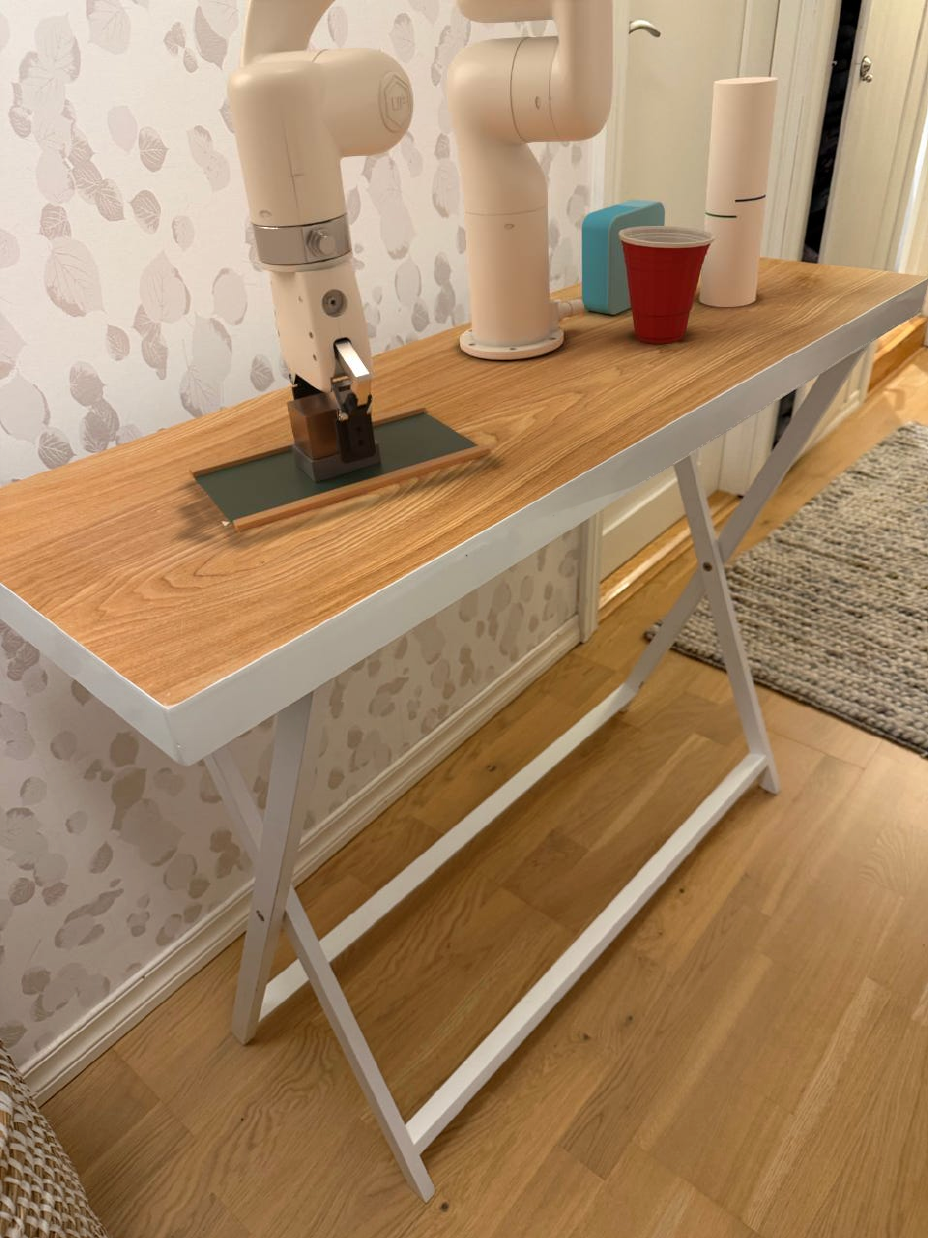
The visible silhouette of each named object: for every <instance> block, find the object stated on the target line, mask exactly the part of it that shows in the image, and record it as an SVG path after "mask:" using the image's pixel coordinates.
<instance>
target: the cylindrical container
mask: <svg viewBox="0 0 928 1238" xmlns="http://www.w3.org/2000/svg"><path fill="white" fill-rule="evenodd" d="M778 82H779V77H774V76H748V77H733V78H725V79H719V80H716V81H714V82H713V93H712V107H711V122H710V138H709V150H708V151H709V153H708V154H709V155H708V164H707V165H708V166H707V179H706V192H705V193H706V195H705V209H704V210H705V211H704V223H703V225H704V226H703V231H708V232H710V233H712V234H714V235H715V239H714V241H713V242H712V243H711V245H710V246H709V248H708V250H707V254H706V255H705V258H704V262H703V264H702V267H701V271H700V281H699V282H700V283H699V296H698V297H699V298H698V301H699V302H700V303H701V304H703V305H706V306H710V307H716V308H735V307H736V308H737V307H743V306H747V305H751V304H752V303H754V302H755V301H756V297H757V288H758V278H759V268H760V258H761V250H762V239H763V230H764V219H765V211H766V200H767V189H768V179H769V171H770V170H769V169H770V160H771V152H772V151H771V150H772V140H773V131H774V121H775V111H776V101H777V91H778Z"/></svg>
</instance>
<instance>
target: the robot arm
mask: <svg viewBox="0 0 928 1238" xmlns="http://www.w3.org/2000/svg"><path fill="white" fill-rule="evenodd" d="M613 1H614V0H454V2H455V5H456V8H457V10H458V11H459V13H460V14H461V15H462V16H463V17H464V18H465V19H467V20H469V21H471V22H474V23H477V24H478V23H479V24H503V23H504V24H505V23H521V22H537V21H553V22H554V25H555V27H556V31H557V32H556V33H557V35H546V36H520V37H519V36H518V37H504V38H502V37H501V38H492V39H485V40H480V41H477V42H474V43H471V44H469V45H467V46H464V47H463V48H462V49H461V50H460V51H458V52H457V53H456V54H455V56H453V59H451V61H450V64H449V66H448V69H447V73H446V77H445V97H446V105H447V109H448V115H449V119H450V123H451V127H452V132H453V135H454V140H455V145H456V150H457V155H458V163H459V170H460V181H461V192H462V206H463V221H464V234H465V237H464V238H465V248H466V249H465V251H466V263H467V279H468V293H469V295H468V296H469V309H470V320H471V321H470V323H471V327H470V328H468V329H467V330H466V329H465V331H464V332H462V334H461V335H460V337H459V346H460V349H461V350H462V351H463V352H464V353H465V354H467V355H469V356H472V357H474V358H478V359H485V360H494V361H495V360H499V361H505V360H507V361H509V360H510V361H512V360H523V359H529V358H534V357H539V356H541V355H542V356H543V355H545V354H549V353H550V352H553V351H555V350H556V349H559V348H560V346H561V345H562V344H563V343H564V340H565V335H564V330H563V328H562V327H560V325H559V323H562V322H563V321H564V319H566V318H573V317H577V316H581V315H583V314H584V311H585V308H584V304H583V302H582V298H575V299H571V300H567V301H565V302H563V301H562V299H560V298H557V299H552V298H551V283H550V281H551V279H550V278H551V277H550V241H549V240H550V239H549V237H550V235H549V233H550V232H549V194H548V193H549V191H548V190H549V189H548V183H547V178H546V176H545V172H544V171H543V169H542V166H541V165H540V163H539V160H538V159H537V157H536V156H535V154H534V153H533V151H532V149H531V148H530V146H529V145H528V144H530V143H561V142H562V143H564V142H565V143H566V142H581V141H586V140H590V139H592V138H595V137H596V136H597V135H598V134H600V133H601V132H602V131H603V129H604V127H605V126H606V124H607V122H608V119H609V116H610V112H611V109H612V99H613V86H614V85H613V83H614V78H613V77H614V39H613V38H614V37H613V36H614V33H613V30H614V27H613V26H614V25H613V24H614V20H613V18H614V16H613V15H614V11H613V9H614V5H613ZM335 2H336V0H248V1H247V4H246V8H245V12H244V18H243V26H242V34H241V42H240V50H239V59H238V60H239V61H238V68H236V69H234V70H233V71H232V72H231V73H230V75H229V76H228V79H227V83H226V85H227V86H226V94H227V101H228V107H229V111H230V117H231V122H232V128H233V133H234V137H235V143H236V149H237V152H238V159H239V165H240V169H241V174H242V180H243V185H244V190H245V194H246V199H247V205H248V209H249V215H250V220H251V226H252V231H253V237H254V242H255V247H256V252H257V258H258V262H259V267H260V268H261V269H262V270H264V271H267V272H269V279H270V280H269V281H270V289H271V296H272V297H271V298H272V304H273V312H274V317H275V324H276V329H277V334H278V338H279V343H280V348H281V353H282V357H283V359H284V362H285V364H286V366H287V367H288V380H289V382H290V384H291V387H290V388H291V393H292V398H293V399H292V400H297V399H300V398H304V397H308V396H312V395H316V394H319V393H323V392H326V393H328V394H329V396H330V399H331V401H332V404H333V406H334V409H335V411H336V414H337V416H338V418H336V419H334V424H335V430H336V436H337V443H338V449H339V455H340V460H341V461H342V462H343V463H345V464H348V463H351V462H355V461H358V460H361V459H365V458H368V457H371V456H374V455H375V454H376V446H375V438H374V431H373V424H372V417H373V416H372V413H373V406H372V399H373V394H372V392H371V389H372V381H373V380H374V378H375V367H374V360H373V355H372V350H371V348H372V347H371V342H370V338H369V332H368V327H367V322H366V316H365V312H364V307H363V302H362V297H361V293H360V289H359V286H358V282H357V277H356V275H355V271H354V268H353V264H352V262H351V261H350V260H351V259H352V258H353V256H354V253H353V245H352V238H351V230H350V224H349V217H348V211H347V210H348V209H347V204H346V196H345V187H344V182H343V175H342V168H341V167H342V166H341V160H342V159H344V158H350V157H351V158H352V157H371V156H377V155H380V154H383V153H386V152H388V151H390V150H391V149H393V148H394V147H395V146H397V145H398V143H400V141H401V140H402V139H403V138H404V136H405V135H406V133H407V132H408V130H409V128H410V125H411V123H412V119H413V114H414V95H413V88H412V83H411V82H410V79H409V77H408V75H407V72H406V71H405V69H404V68H403V67H402V65H401V64H400V63H399V62H398V61H397V60H396V59H395V58H394V57H392V56H391V55H389V54H388V53H386V52H384V51H381V50H379V49H374V48H369V47H349V48H335V49H330V48H329V49H328V48H320V49H308V46H309V45H310V44H309V43H310V41H311V38H312V35H313V33H314V32H315V29H316V27H317V25H318V24H319V22H320V20H321V19H322V17H323V16H324V14H325V13H326V12H327V11H328V9H329V8H330V7H331V6H332V4H334V3H335ZM344 377H347V378H344ZM340 378H344V379H340ZM337 379H340V380H337ZM333 380H336V381H333ZM350 389H351V390H352V391H351V393H348V394H347V397H346V400H345V402H344V403H343V400H342V398H341V395H340V393H339V392H343V391H347V390H350Z"/></svg>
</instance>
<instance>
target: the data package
mask: <svg viewBox="0 0 928 1238" xmlns="http://www.w3.org/2000/svg"><path fill="white" fill-rule="evenodd" d="M665 221H666V209H665V206H664V204H663V203H662V202H661V201H655V200H644V199H643V200H642V199H633V198H631V199H629V200H626V201H622V202H620V203H616V204H613V205H610V206H608V207H607V206H606V207H604V208H601V209H597V210H595V211H592V212H589V213H587V214H586V216H584V218H583V220H582V223H581V300H582V302H583V304H584V310H586V311H589V312H594V313H600V314H606V315H612V316H615V315H617V314H621V313H622V312H625V311H627V310H629V309H631V304H630V296H629V287H628V279H627V270H626V263H625V258H624V253H623V246H622V242H621V239H619V232H620V231H621V230H624V229H627V228H633V227H641V226H666V225H665Z"/></svg>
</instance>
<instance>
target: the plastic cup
mask: <svg viewBox="0 0 928 1238" xmlns="http://www.w3.org/2000/svg"><path fill="white" fill-rule="evenodd" d="M619 239H621V242H622V246H623V253H624V258H625V263H626V270H627V279H628V287H629V296H630V304H631V308H630V311H631V312H632V320H633V321H632V322H633V329H634V333H635V338H636V339H637V340H638V341H640V342H643V343H645V344H646V343H647V344H654V345H655V344H656V345H657V344H661V345H662V344H664V345H665V344H672V343H676V342H679V341H681V340H683V339H684V338H685V334H686V333H687V328H688V323H689V318H690V316H691V315H690V314H691V310H692V309H693V304H694V301H695V297H696V293H697V292H696V291H697V287H698V284H699V280H700V277H701V267H702V264H703V262H704V258H705V255H706V254H707V250H708V248H709V246H710V245H711V243H712V242H713V241H714V239H715V235H714V234H712V233H710V232H708V231H704V229H698V228H694V227H685V226H675V225H674V226H673V225H671V226H670V225H665V226H641V227H633V228H627V229H624V230H621V231H620V232H619Z"/></svg>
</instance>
